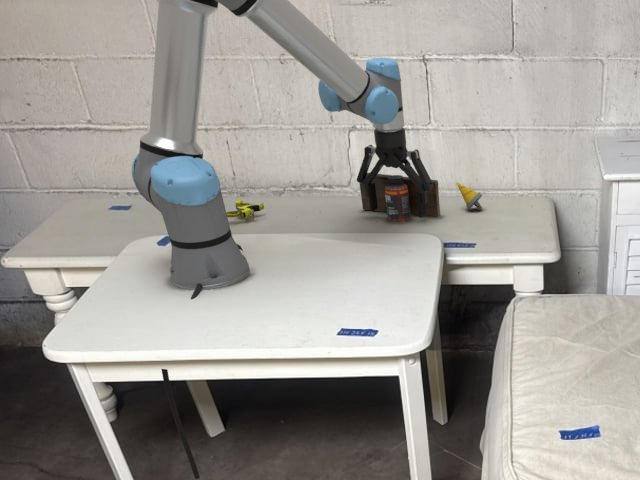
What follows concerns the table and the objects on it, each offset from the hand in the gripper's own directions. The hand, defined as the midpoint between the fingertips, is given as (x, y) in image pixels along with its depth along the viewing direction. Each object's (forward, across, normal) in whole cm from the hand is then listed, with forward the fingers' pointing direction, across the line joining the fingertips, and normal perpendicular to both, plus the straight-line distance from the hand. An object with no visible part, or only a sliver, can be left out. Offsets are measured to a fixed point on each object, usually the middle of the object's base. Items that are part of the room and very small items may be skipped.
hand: (398, 212), depth 189 cm
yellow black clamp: (+2, +39, +10) cm, 40 cm away
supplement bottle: (+2, 0, 0) cm, 2 cm away
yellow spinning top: (+2, -15, -14) cm, 20 cm away
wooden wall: (+2, +2, -6) cm, 7 cm away
